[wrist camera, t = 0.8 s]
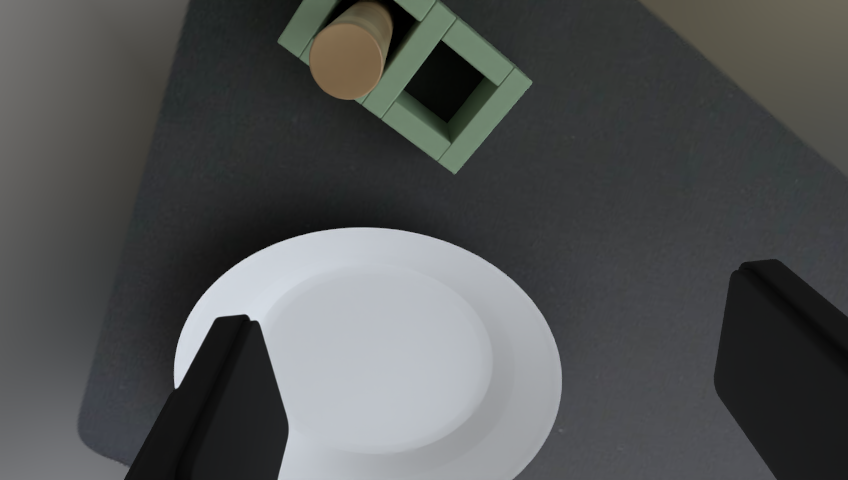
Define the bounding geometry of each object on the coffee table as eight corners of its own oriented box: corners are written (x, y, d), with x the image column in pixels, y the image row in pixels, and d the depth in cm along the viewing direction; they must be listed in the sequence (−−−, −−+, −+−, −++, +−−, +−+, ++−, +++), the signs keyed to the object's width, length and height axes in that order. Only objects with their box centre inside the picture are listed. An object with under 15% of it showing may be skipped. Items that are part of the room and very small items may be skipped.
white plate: (128, 383, 40) (104, 420, 37) (335, 119, 32) (327, 137, 29) (399, 527, 48) (398, 568, 45) (622, 344, 40) (641, 378, 36)
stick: (339, 25, 30) (294, 69, 18) (366, -14, 29) (335, 6, 17) (376, 54, 30) (355, 114, 19) (403, 16, 30) (398, 55, 18)
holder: (292, 31, 30) (276, 42, 26) (357, -70, 28) (349, -74, 24) (450, 151, 33) (454, 175, 29) (518, 67, 31) (533, 82, 27)
